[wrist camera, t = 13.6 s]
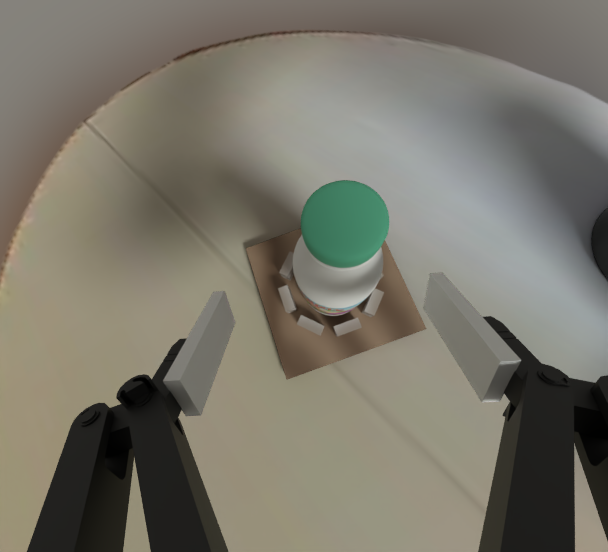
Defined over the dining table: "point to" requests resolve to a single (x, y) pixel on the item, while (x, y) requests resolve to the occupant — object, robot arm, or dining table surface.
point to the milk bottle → (340, 246)
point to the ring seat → (323, 328)
